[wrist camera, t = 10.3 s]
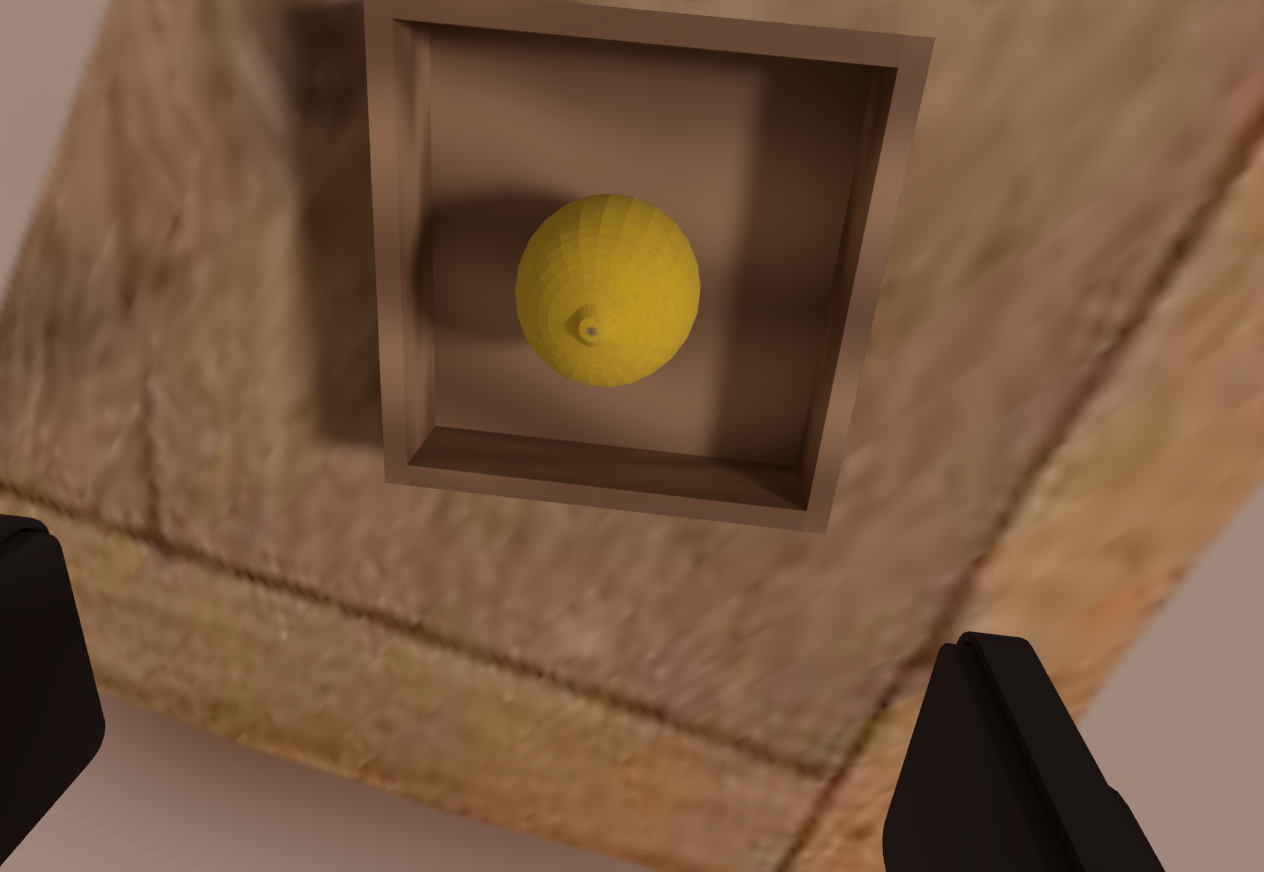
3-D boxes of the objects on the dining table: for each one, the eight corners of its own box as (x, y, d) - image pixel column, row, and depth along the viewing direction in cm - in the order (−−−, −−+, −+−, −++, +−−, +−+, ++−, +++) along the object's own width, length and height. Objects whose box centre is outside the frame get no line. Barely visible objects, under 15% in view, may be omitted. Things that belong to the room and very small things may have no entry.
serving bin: (409, -7, 26) (362, -17, 22) (902, 40, 26) (935, 37, 22) (420, 435, 33) (385, 482, 29) (811, 480, 32) (825, 533, 29)
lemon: (519, 292, 29) (456, 371, 22) (584, 146, 27) (537, 181, 20) (656, 361, 30) (638, 460, 23) (731, 225, 28) (737, 286, 20)
